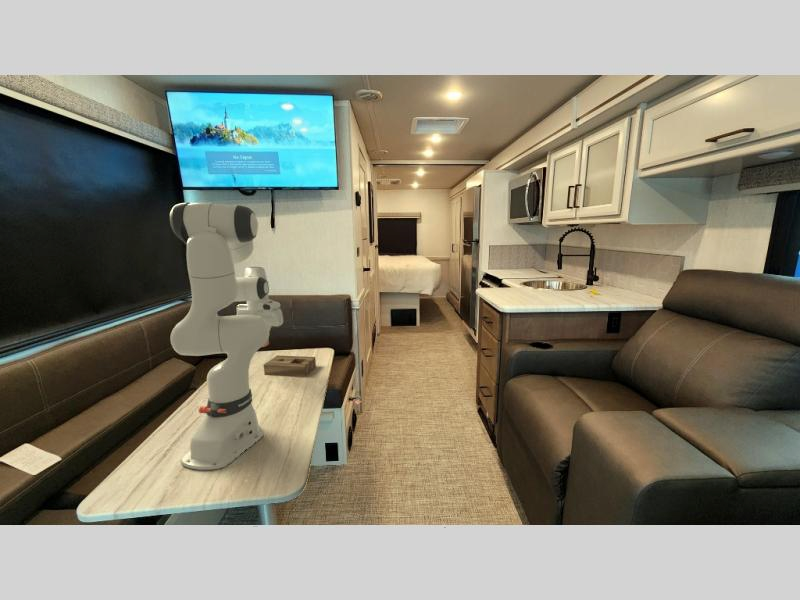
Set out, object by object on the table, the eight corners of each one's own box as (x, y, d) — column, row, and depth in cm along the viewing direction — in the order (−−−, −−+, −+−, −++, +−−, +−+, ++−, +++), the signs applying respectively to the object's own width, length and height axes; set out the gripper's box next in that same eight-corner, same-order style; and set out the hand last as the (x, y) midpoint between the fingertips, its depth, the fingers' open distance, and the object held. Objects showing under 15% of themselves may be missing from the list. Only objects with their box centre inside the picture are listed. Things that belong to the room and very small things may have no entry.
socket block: (305, 376, 142) (304, 366, 141) (264, 374, 144) (263, 364, 144) (315, 366, 153) (315, 356, 152) (278, 364, 156) (277, 354, 155)
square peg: (263, 347, 135) (261, 324, 133) (255, 346, 136) (253, 324, 134) (269, 344, 139) (267, 322, 137) (260, 343, 139) (258, 322, 138)
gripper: (231, 305, 132) (234, 336, 135) (276, 306, 129) (278, 338, 132) (240, 302, 138) (244, 332, 141) (283, 303, 135) (286, 333, 138)
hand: (261, 335), depth 136 cm, fingers closed on square peg, 4 cm apart
